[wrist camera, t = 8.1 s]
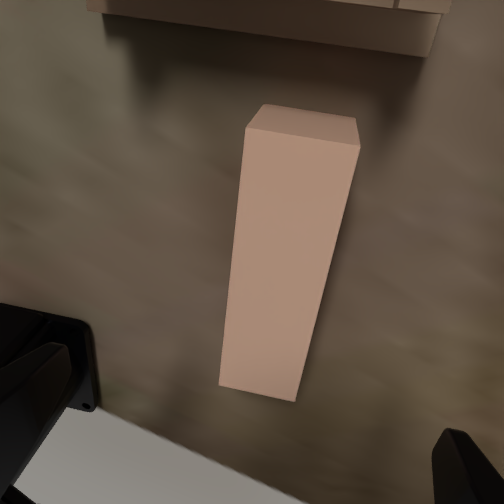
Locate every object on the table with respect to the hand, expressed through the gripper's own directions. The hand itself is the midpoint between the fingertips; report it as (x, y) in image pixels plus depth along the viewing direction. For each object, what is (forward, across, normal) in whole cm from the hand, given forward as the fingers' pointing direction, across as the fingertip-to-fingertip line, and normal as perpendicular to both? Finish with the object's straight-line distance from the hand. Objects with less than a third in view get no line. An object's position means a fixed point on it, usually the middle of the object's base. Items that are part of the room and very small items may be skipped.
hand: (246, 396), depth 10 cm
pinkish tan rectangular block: (+8, 0, 0) cm, 8 cm away
